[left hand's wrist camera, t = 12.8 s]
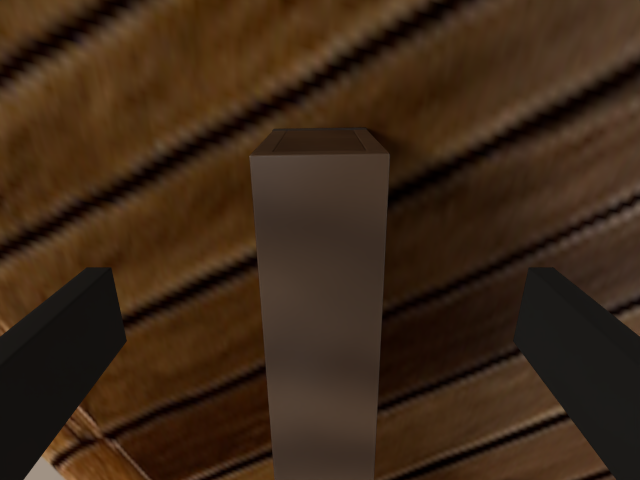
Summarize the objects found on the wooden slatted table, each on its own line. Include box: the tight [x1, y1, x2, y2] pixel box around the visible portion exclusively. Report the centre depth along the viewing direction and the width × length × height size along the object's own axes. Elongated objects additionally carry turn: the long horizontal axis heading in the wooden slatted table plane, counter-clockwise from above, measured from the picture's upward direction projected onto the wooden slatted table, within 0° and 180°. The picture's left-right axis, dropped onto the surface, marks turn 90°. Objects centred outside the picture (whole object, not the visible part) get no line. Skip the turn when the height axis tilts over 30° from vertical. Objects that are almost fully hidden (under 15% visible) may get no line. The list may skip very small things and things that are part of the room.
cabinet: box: [250, 128, 390, 480], centre depth 25 cm, size 22×6×10 cm, turn 1°
